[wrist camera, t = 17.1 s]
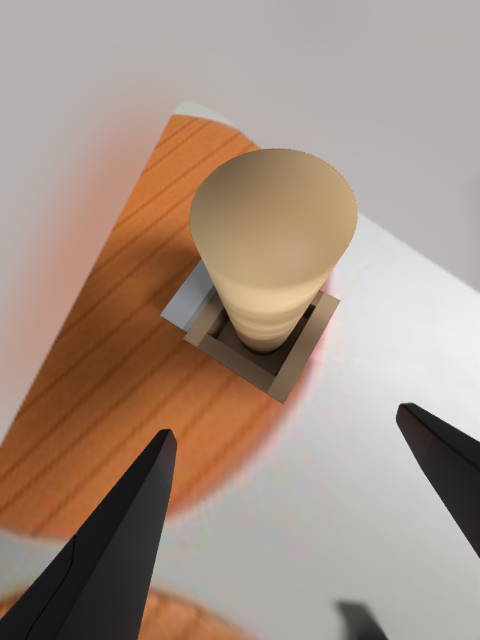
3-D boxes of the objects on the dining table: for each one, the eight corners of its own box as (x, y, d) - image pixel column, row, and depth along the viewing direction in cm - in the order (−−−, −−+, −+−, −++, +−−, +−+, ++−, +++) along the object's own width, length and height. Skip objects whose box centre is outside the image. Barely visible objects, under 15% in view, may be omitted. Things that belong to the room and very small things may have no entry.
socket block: (278, 399, 17) (283, 404, 13) (199, 347, 19) (183, 338, 15) (324, 317, 18) (340, 300, 15) (246, 277, 20) (243, 252, 16)
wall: (202, 342, 19) (182, 329, 14) (185, 331, 19) (159, 315, 15) (243, 281, 20) (238, 249, 15) (226, 272, 21) (216, 239, 16)
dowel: (260, 365, 17) (265, 321, 4) (228, 329, 18) (158, 210, 5) (296, 333, 17) (395, 208, 5) (263, 299, 18) (274, 126, 6)
